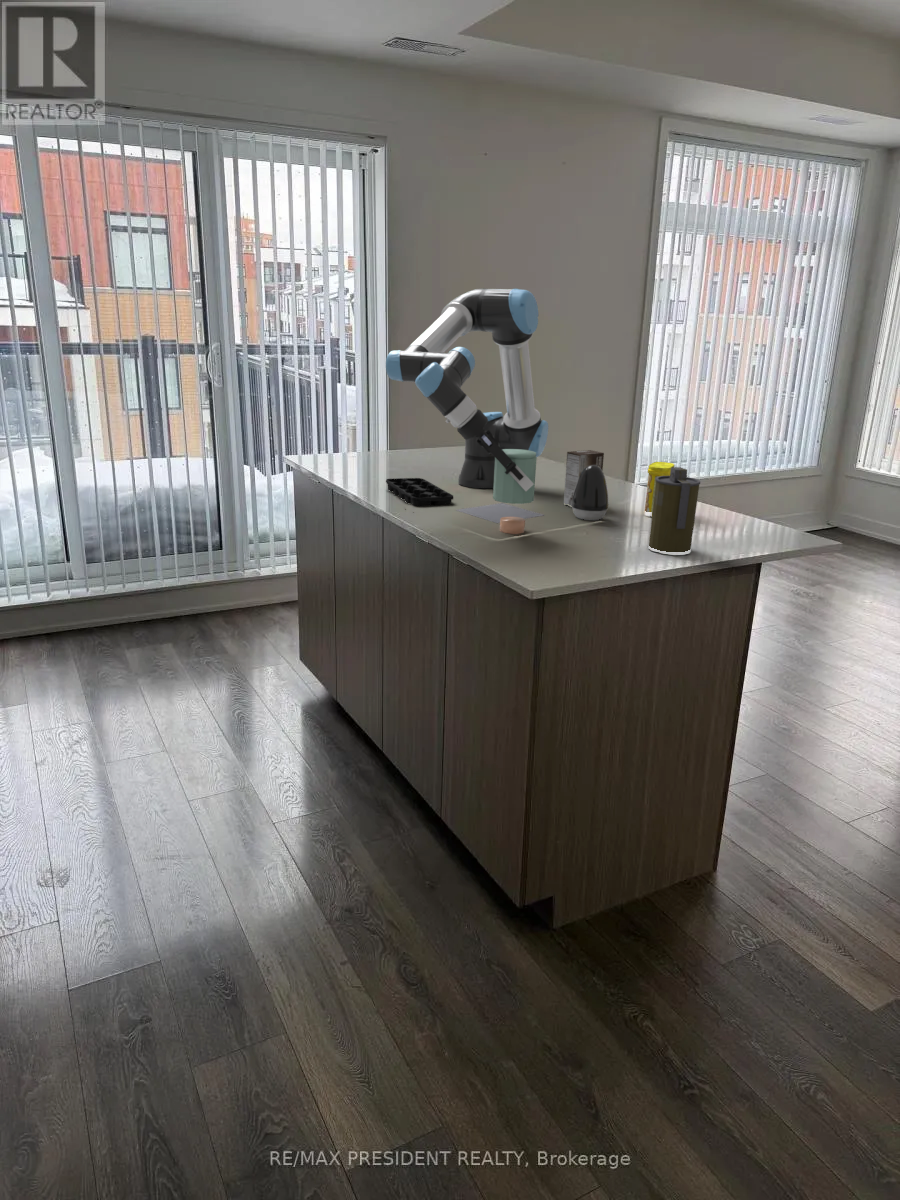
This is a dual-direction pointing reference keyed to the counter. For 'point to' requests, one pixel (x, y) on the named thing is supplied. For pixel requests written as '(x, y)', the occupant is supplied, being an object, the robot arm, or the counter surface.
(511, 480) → the faceted lidded jar
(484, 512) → the mat
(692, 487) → the canister
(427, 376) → the robot arm
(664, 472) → the canister
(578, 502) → the black egg-shaped device
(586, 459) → the coffee box
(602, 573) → the counter surface
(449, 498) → the egg carton
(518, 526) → the pink rounded puck
